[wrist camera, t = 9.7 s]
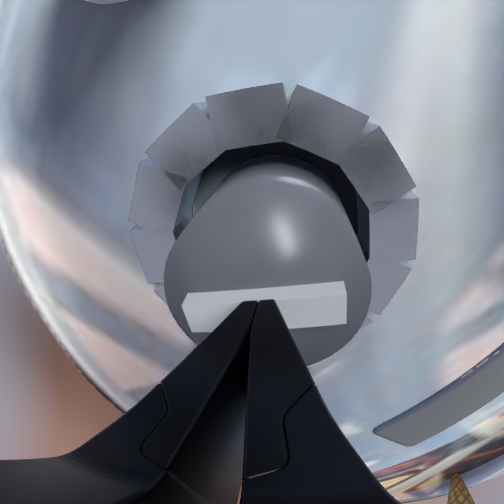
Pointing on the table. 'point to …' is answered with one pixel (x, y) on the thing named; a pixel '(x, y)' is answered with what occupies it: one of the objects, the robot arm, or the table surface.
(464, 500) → the ice cream cone
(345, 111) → the segmented grey ring
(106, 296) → the table surface
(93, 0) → the grey cylinder
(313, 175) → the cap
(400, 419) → the smartphone
